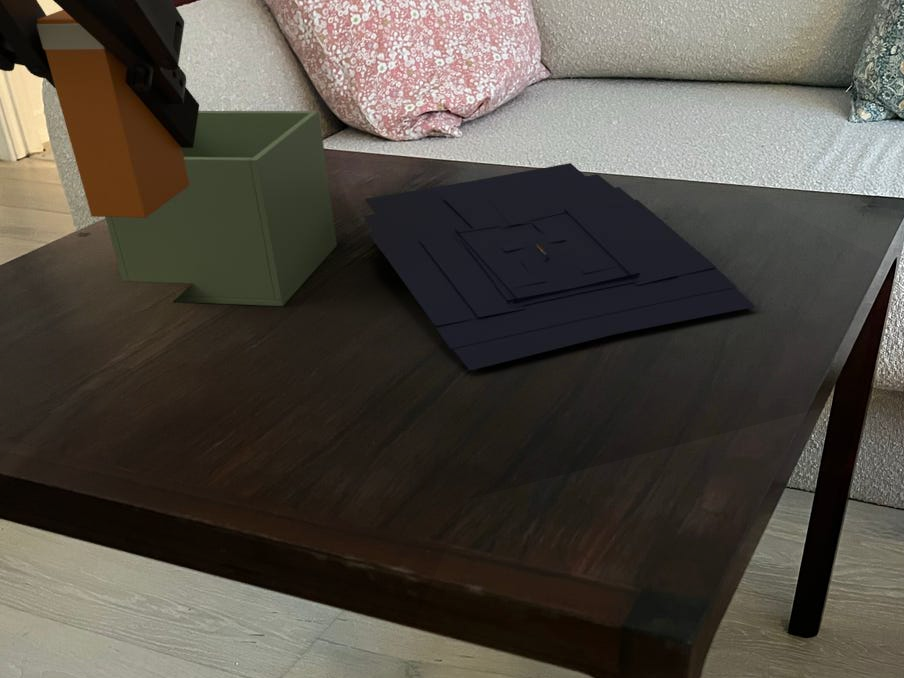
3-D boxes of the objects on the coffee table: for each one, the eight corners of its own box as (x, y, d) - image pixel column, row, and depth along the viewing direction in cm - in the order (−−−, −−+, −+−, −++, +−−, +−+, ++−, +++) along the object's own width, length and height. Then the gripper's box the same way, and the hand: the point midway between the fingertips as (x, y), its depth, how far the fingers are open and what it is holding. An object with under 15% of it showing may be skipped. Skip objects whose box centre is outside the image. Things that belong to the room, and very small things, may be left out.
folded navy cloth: (586, 188, 102) (589, 150, 100) (752, 337, 83) (761, 295, 80) (347, 232, 96) (343, 192, 94) (466, 404, 77) (465, 360, 74)
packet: (89, 217, 61) (34, 19, 54) (138, 184, 65) (92, -3, 59) (146, 218, 60) (97, 18, 54) (191, 185, 65) (150, -3, 58)
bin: (127, 300, 90) (88, 157, 82) (196, 241, 100) (167, 110, 93) (282, 306, 87) (257, 159, 80) (337, 245, 98) (318, 110, 90)
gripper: (-332, -120, 42) (26, 182, 65) (37, -137, 39) (278, 188, 62) (-300, -294, 42) (45, 67, 65) (68, -326, 39) (295, 66, 62)
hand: (157, 125), depth 63 cm, fingers closed on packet, 4 cm apart
